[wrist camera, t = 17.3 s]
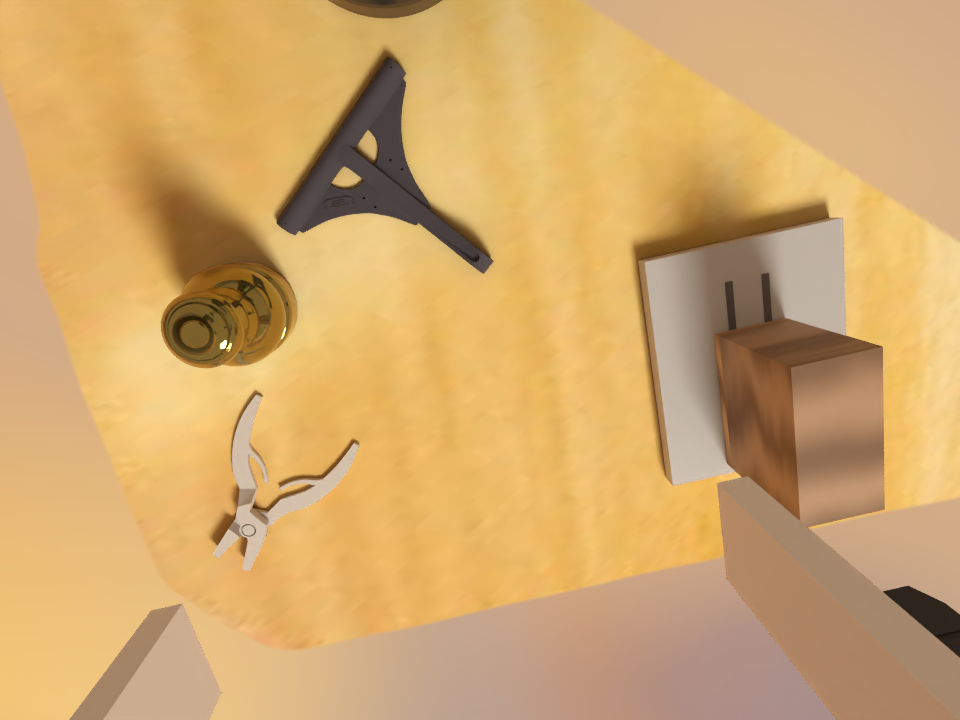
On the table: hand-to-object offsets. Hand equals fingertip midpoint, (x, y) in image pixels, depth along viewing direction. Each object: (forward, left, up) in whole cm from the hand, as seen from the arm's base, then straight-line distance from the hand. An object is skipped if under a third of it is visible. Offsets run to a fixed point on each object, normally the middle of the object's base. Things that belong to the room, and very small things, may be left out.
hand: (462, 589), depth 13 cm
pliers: (+11, -18, -32) cm, 39 cm away
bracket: (-10, -1, -33) cm, 34 cm away
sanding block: (+11, +24, -30) cm, 40 cm away
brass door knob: (-5, -15, -32) cm, 36 cm away
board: (+8, +24, -32) cm, 41 cm away
